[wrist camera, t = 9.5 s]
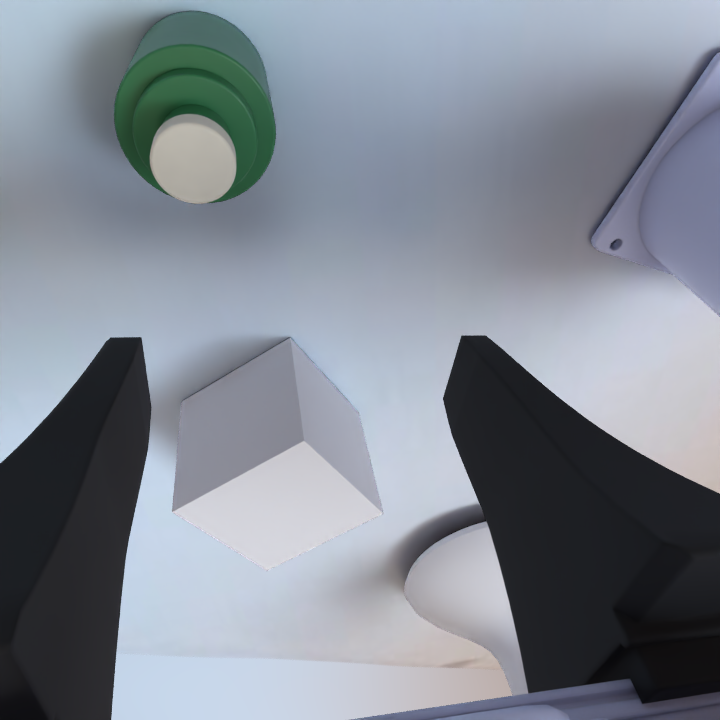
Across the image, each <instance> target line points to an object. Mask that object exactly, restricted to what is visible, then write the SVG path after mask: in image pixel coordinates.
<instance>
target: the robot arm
mask: <svg viewBox="0 0 720 720" xmlns="http://www.w3.org/2000/svg"><path fill="white" fill-rule="evenodd" d="M616 239H617V241H616V242H615V243H614V244H613V245H611V243H612V242H613V241H614V240H616ZM591 243H592V245H593V247H594V248H595V249H596V250H598V251H600V252H603V253H606V254H609V255H612V256H615V257H619V258H622V259H625V260H628V261H631V262H634V263H637V264H641V265H644V266H647V267H650V268H653V269H656V270H659V271H663V272H666V273H669V274H672V275H674V276H676V277H677V278H678V279H679V280H680V281H681V282H682V283H683V284H684V285H685V286H687V287H688V288H689V289H690V290H691V291H692V292H693V293H694V294H695V295H696V296H697V297H699V298H700V299H701V300H702V301H703V302H704V303H705V304H706V305H707V306H708V307H710V308H711V309H712V310H713V311H714V312H715V313H716V314H717V315H718V316H719V317H720V52H719V53H717V54H716V55H715V57H714V58H713V59H712V60H711V62H710V63H709V65H708V66H707V68H706V69H705V71H704V72H703V74H702V75H701V77H700V78H699V80H698V81H697V83H696V84H695V85H694V87H693V88H692V90H691V91H690V93H689V94H688V96H687V97H686V99H685V100H684V102H683V103H682V105H681V106H680V108H679V109H678V111H677V112H676V114H675V115H674V117H673V118H672V119H671V121H670V122H669V124H668V125H667V127H666V128H665V130H664V131H663V133H662V134H661V136H660V137H659V139H658V140H657V142H656V143H655V145H654V146H653V148H652V149H651V150H650V152H649V153H648V155H647V156H646V158H645V159H644V161H643V162H642V164H641V165H640V167H639V168H638V170H637V171H636V173H635V174H634V176H633V177H632V179H631V180H630V182H629V183H628V184H627V186H626V187H625V189H624V190H623V192H622V193H621V195H620V196H619V198H618V199H617V201H616V202H615V204H614V205H613V207H612V208H611V210H610V211H609V213H608V214H607V216H606V217H605V218H604V220H603V221H602V223H601V224H600V226H599V227H598V229H597V230H596V232H595V233H594V235H593V237H592V241H591ZM610 245H611V246H610ZM443 400H444V405H445V409H446V413H447V418H448V422H449V425H450V429H451V433H452V436H453V439H454V441H455V444H456V447H457V449H458V452H459V454H460V457H461V459H462V462H463V464H464V467H465V469H466V471H467V474H468V476H469V479H470V481H471V484H472V486H473V489H474V491H475V493H476V496H477V498H478V501H479V503H480V506H481V508H482V511H483V513H484V516H485V519H486V521H487V524H488V527H489V530H490V533H491V537H492V540H493V544H494V547H495V551H496V554H497V558H498V561H499V565H500V569H501V573H502V576H503V580H504V584H505V588H506V592H507V596H508V600H509V604H510V608H511V613H512V617H513V621H514V626H515V630H516V635H517V639H518V643H519V648H520V653H521V658H522V663H523V669H524V674H525V679H526V684H527V689H528V694H521V695H515V696H508V697H501V698H494V699H487V700H481V701H474V702H467V703H461V704H453V705H446V706H440V707H433V708H426V709H419V710H412V711H406V712H399V713H392V714H385V715H378V716H372V717H365V718H358V719H351V720H720V494H719V493H717V492H715V491H713V490H710V489H708V488H706V487H704V486H702V485H700V484H698V483H696V482H693V481H691V480H689V479H687V478H685V477H683V476H681V475H679V474H677V473H675V472H673V471H671V470H669V469H667V468H665V467H664V466H662V465H660V464H658V463H656V462H655V461H653V460H651V459H649V458H647V457H646V456H644V455H642V454H640V453H638V452H637V451H635V450H633V449H632V448H630V447H628V446H627V445H625V444H623V443H622V442H620V441H619V440H617V439H616V438H614V437H613V436H611V435H610V434H608V433H607V432H605V431H604V430H602V429H600V428H599V427H597V426H596V425H595V424H593V423H592V422H590V421H589V420H588V419H586V418H585V417H583V416H582V415H581V414H579V413H578V412H577V411H576V410H574V409H573V408H572V407H570V406H569V405H568V404H566V403H565V402H564V401H562V400H561V399H560V398H559V397H557V396H556V395H555V394H554V393H553V392H551V391H550V390H549V389H548V388H546V387H545V386H544V385H543V384H542V383H541V382H539V381H538V380H537V379H536V378H535V377H533V376H532V375H531V374H530V373H529V372H528V371H527V370H525V369H524V368H523V367H522V366H521V365H520V364H519V363H517V362H516V361H515V360H514V359H513V358H512V357H511V356H509V355H508V354H507V353H506V352H505V351H504V350H503V349H501V348H500V347H499V346H498V345H497V344H496V343H494V342H493V341H492V340H491V339H489V338H488V337H487V336H461V339H460V343H459V346H458V350H457V353H456V356H455V360H454V363H453V367H452V370H451V373H450V377H449V380H448V384H447V387H446V390H445V394H444V397H443ZM150 419H151V401H150V394H149V387H148V380H147V373H146V366H145V359H144V352H143V345H142V339H141V337H124V338H110V339H109V340H107V341H106V342H105V344H104V345H103V347H102V348H101V350H100V351H99V352H98V354H97V355H96V357H95V358H94V359H93V361H92V362H91V363H90V365H89V366H88V368H87V369H86V370H85V371H84V373H83V374H82V375H81V377H80V378H79V379H78V381H77V382H76V383H75V384H74V385H73V387H72V388H71V389H70V390H69V392H68V393H67V394H66V395H65V396H64V398H63V399H62V400H61V401H60V403H59V404H58V405H57V406H56V407H55V408H54V409H53V411H52V412H51V413H50V414H49V415H48V416H47V417H46V418H45V419H44V420H43V421H42V422H41V424H40V425H39V426H38V427H37V428H36V429H35V430H34V431H33V432H32V433H31V434H30V435H29V436H28V437H27V438H26V440H24V441H23V442H22V443H21V444H20V445H19V446H18V447H17V448H16V449H15V450H14V451H13V452H12V453H11V454H10V455H9V456H8V457H7V458H6V459H5V460H4V461H2V462H1V463H0V720H111V714H112V713H111V712H112V699H113V687H114V674H115V662H116V661H115V660H116V649H117V638H118V628H119V617H120V606H121V596H122V587H123V577H124V568H125V559H126V553H127V547H128V541H129V536H130V531H131V526H132V522H133V517H134V512H135V508H136V503H137V498H138V494H139V489H140V485H141V480H142V475H143V470H144V466H145V461H146V456H147V451H148V443H149V432H150Z"/></svg>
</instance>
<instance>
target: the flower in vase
mask: <svg viewBox="0 0 720 720" xmlns="http://www.w3.org/2000/svg"><path fill="white" fill-rule="evenodd" d="M404 592H405V596H406V599H407V601H408V602H409V604H410V605H411V606H412V608H413V609H414V611H415V612H416V613H417V614H418V615H419V616H420V617H422V618H423V619H425V620H427V621H428V622H430V623H432V624H433V625H435V626H437V627H438V628H441V629H443V630H445V631H448V632H450V633H452V634H455V635H457V636H460V637H463V638H465V639H468V640H470V641H472V642H474V643H477V644H479V645H481V646H483V647H484V648H486V649H487V650H488V651H490V652H491V653H492V654H493V655H494V657H495V658H496V659H497V660H498V662H499V664H500V666H501V667H502V669H503V671H504V673H505V676H506V679H507V681H508V684H509V686H510V689H511V692H512V695H513V696H515V695H521V694H528V689H527V684H526V679H525V674H524V669H523V663H522V658H521V653H520V648H519V643H518V639H517V635H516V630H515V626H514V621H513V617H512V613H511V608H510V604H509V600H508V596H507V592H506V588H505V584H504V580H503V576H502V573H501V569H500V565H499V561H498V558H497V554H496V551H495V547H494V544H493V540H492V537H491V533H490V530H489V527H488V524H487V521H486V522H482V523H479V524H475V525H472V526H469V527H466V528H464V529H461V530H459V531H457V532H454V533H452V534H450V535H448V536H447V537H445V538H443V539H441V540H440V541H438V542H436V543H435V544H433V545H432V546H431V547H429V548H428V549H427V550H426V551H425V552H424V553H422V554H421V555H420V556H419V558H418V559H417V560H416V561H415V562H414V564H413V566H412V567H411V569H410V572H409V574H408V577H407V580H406V582H405V587H404Z"/></svg>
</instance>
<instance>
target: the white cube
mask: <svg viewBox="0 0 720 720" xmlns="http://www.w3.org/2000/svg"><path fill="white" fill-rule="evenodd" d="M172 512H173V513H174V514H176V515H177V516H179V517H181V518H182V519H184V520H185V521H187V522H189V523H190V524H192V525H194V526H195V527H197V528H198V529H200V530H202V531H203V532H205V533H206V534H208V535H210V536H211V537H213V538H214V539H216V540H218V541H219V542H221V543H222V544H224V545H226V546H227V547H229V548H231V549H232V550H234V551H235V552H237V553H239V554H240V555H242V556H243V557H245V558H247V559H248V560H250V561H251V562H253V563H255V564H256V565H258V566H260V567H261V568H263V569H264V570H266V571H268V570H270V569H272V568H274V567H276V566H278V565H280V564H282V563H284V562H286V561H288V560H291V559H293V558H295V557H297V556H299V555H301V554H303V553H305V552H307V551H309V550H311V549H313V548H315V547H317V546H319V545H321V544H323V543H325V542H327V541H329V540H331V539H333V538H335V537H337V536H339V535H341V534H343V533H345V532H347V531H350V530H352V529H354V528H356V527H358V526H360V525H362V524H364V523H366V522H368V521H370V520H372V519H374V518H376V517H378V516H380V515H382V514H383V510H382V505H381V501H380V497H379V493H378V489H377V485H376V481H375V477H374V473H373V468H372V464H371V460H370V456H369V452H368V448H367V444H366V440H365V436H364V431H363V427H362V423H361V419H360V415H359V412H358V411H357V410H356V409H355V408H354V407H353V406H352V405H351V403H350V402H349V401H348V400H347V399H346V398H345V397H344V396H343V395H342V394H341V393H340V391H339V390H338V389H337V388H336V387H335V386H334V385H333V384H332V383H331V382H330V380H329V379H328V378H327V377H326V376H325V375H324V374H323V373H322V372H321V371H320V370H319V368H318V367H317V366H316V365H315V364H314V363H313V362H312V361H311V360H310V359H309V357H308V356H307V355H306V354H305V353H304V352H303V351H302V350H301V349H300V348H299V347H298V345H297V344H296V343H295V342H294V341H293V340H292V339H291V338H288V339H287V340H285V341H283V342H282V343H280V344H278V345H277V346H275V347H273V348H271V349H270V350H268V351H266V352H265V353H263V354H261V355H260V356H258V357H256V358H255V359H253V360H251V361H249V362H248V363H246V364H244V365H243V366H241V367H239V368H238V369H236V370H234V371H233V372H231V373H229V374H227V375H226V376H224V377H222V378H221V379H219V380H217V381H216V382H214V383H212V384H211V385H209V386H207V387H205V388H204V389H202V390H200V391H199V392H197V393H195V394H194V395H192V396H190V397H189V398H187V399H185V400H183V401H182V402H181V412H180V424H179V436H178V448H177V459H176V471H175V483H174V495H173V507H172Z"/></svg>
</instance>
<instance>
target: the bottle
mask: <svg viewBox="0 0 720 720" xmlns="http://www.w3.org/2000/svg"><path fill="white" fill-rule="evenodd" d="M114 122H115V129H116V133H117V137H118V140H119V143H120V146H121V148H122V150H123V152H124V154H125V156H126V158H127V159H128V161H129V162H130V164H131V165H132V166H133V168H134V169H135V170H136V171H137V172H138V174H139V175H141V176H142V177H143V178H144V179H145V180H146V181H147V182H148V183H150V184H151V185H152V186H153V187H155V188H156V189H158V190H160V191H161V192H163V193H165V194H167V195H169V196H172V197H174V198H176V199H178V200H180V201H183V202H187V203H192V204H203V203H215V202H221V201H225V200H228V199H231V198H233V197H236V196H238V195H240V194H242V193H243V192H245V191H247V190H248V189H249V188H250V187H252V186H253V185H254V184H255V183H256V182H257V181H258V180H259V179H260V177H261V176H262V175H263V173H264V172H265V170H266V169H267V167H268V165H269V163H270V160H271V158H272V155H273V151H274V147H275V139H276V126H275V119H274V113H273V108H272V103H271V98H270V92H269V87H268V82H267V77H266V72H265V68H264V65H263V62H262V60H261V58H260V55H259V54H258V52H257V50H256V48H255V47H254V45H253V44H252V43H251V41H250V40H249V39H248V38H247V37H246V35H245V34H244V33H243V32H242V31H240V30H239V29H238V28H237V27H236V26H234V25H233V24H231V23H230V22H228V21H227V20H225V19H222V18H220V17H218V16H216V15H212V14H209V13H205V12H199V11H187V12H179V13H176V14H172V15H170V16H168V17H165V18H163V19H162V20H160V21H159V22H157V23H156V24H155V25H154V26H153V27H151V28H150V29H149V31H148V32H147V33H146V34H145V36H144V37H143V39H142V41H141V42H140V44H139V46H138V48H137V50H136V52H135V55H134V57H133V59H132V61H131V63H130V65H129V67H128V69H127V71H126V73H125V75H124V77H123V79H122V81H121V83H120V86H119V89H118V91H117V94H116V99H115V104H114Z"/></svg>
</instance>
